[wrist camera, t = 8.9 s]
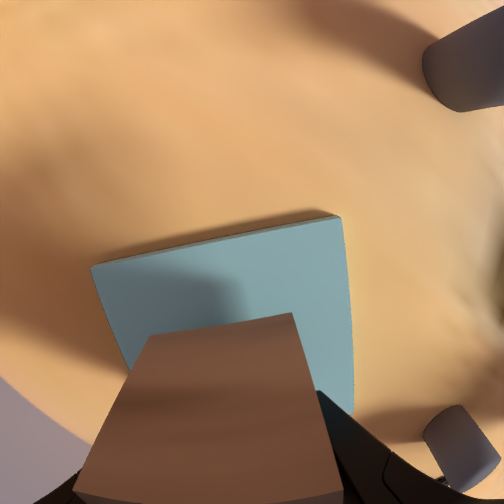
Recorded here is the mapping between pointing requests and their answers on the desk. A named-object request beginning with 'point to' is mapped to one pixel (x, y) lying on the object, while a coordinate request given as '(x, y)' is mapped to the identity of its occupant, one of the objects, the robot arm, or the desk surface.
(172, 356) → the walnut block
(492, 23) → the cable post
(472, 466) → the cylinder
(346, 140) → the desk surface
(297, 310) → the pale teal mat
